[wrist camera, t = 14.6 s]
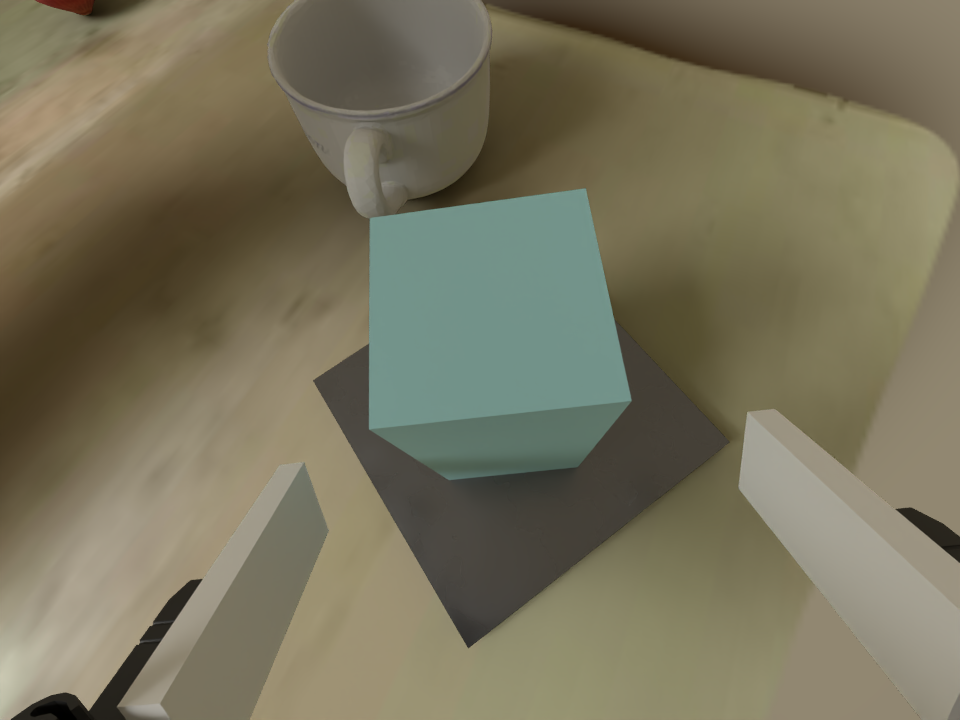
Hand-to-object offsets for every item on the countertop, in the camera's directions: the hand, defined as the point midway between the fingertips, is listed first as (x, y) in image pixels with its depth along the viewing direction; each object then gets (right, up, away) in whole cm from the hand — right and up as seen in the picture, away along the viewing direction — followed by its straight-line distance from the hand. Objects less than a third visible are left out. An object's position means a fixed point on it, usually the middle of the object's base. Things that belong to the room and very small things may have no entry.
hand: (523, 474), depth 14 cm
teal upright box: (0, +1, +8) cm, 8 cm away
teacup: (-6, +15, +15) cm, 22 cm away
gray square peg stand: (0, +1, +9) cm, 9 cm away
